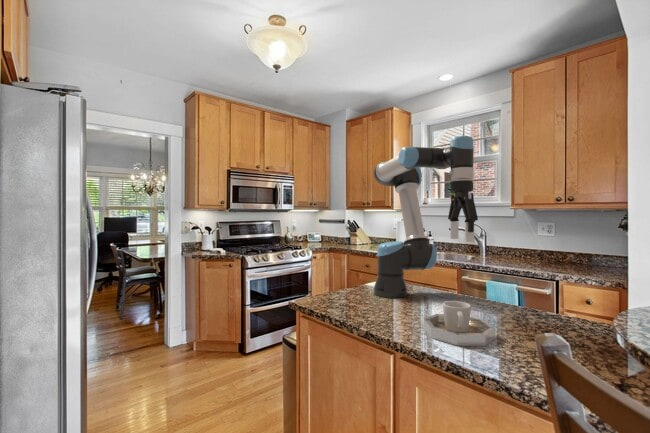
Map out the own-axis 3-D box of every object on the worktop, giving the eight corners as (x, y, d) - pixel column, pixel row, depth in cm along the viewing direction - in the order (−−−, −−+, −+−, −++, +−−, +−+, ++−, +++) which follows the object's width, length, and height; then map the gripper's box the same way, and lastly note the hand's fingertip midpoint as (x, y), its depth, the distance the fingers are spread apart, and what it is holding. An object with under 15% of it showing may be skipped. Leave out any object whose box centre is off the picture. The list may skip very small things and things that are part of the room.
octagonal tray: (419, 322, 107) (419, 313, 107) (475, 323, 106) (475, 314, 106) (437, 345, 89) (437, 334, 89) (505, 346, 88) (505, 335, 88)
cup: (476, 339, 92) (476, 311, 92) (446, 337, 93) (446, 309, 93) (467, 326, 102) (467, 301, 102) (441, 324, 104) (441, 300, 104)
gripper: (439, 183, 127) (439, 237, 128) (465, 176, 103) (465, 243, 103) (458, 183, 127) (458, 237, 127) (489, 176, 102) (489, 243, 102)
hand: (461, 240), depth 115 cm, fingers open, 13 cm apart
